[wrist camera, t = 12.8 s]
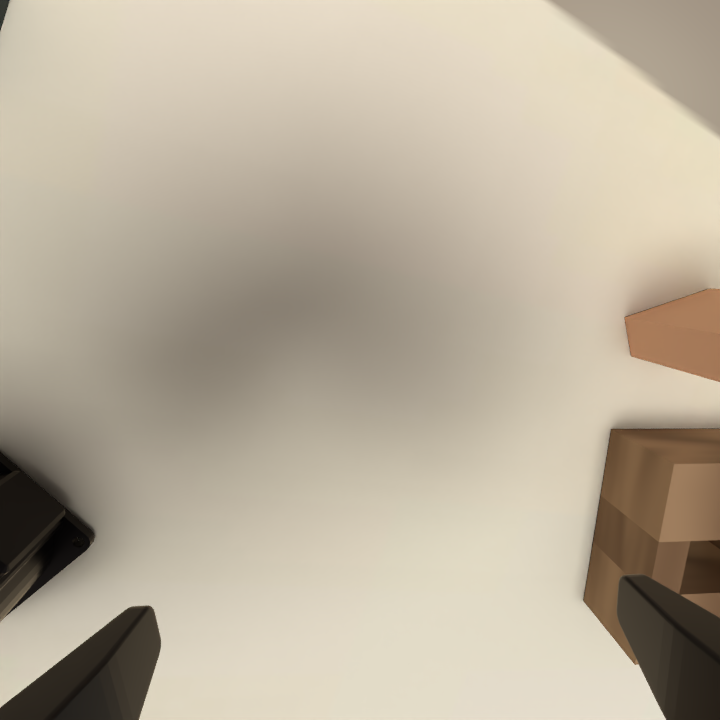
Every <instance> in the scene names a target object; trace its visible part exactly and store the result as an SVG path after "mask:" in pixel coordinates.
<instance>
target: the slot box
mask: <svg viewBox="0 0 720 720" xmlns="http://www.w3.org/2000/svg"><path fill="white" fill-rule="evenodd" d="M628 574H644V575H646V576H649V577H650V578H652V579H654V580H655V581H657V582H659V583H661V584H662V585H664V586H666V587H668V588H669V589H671V590H673V591H675V592H676V593H678V594H680V595H681V596H683V597H685V598H687V599H688V600H690V601H692V602H694V603H695V604H697V605H699V606H701V607H702V608H704V609H706V610H707V611H709V612H711V613H713V614H714V615H716V616H718V617H720V429H611V435H610V441H609V447H608V453H607V459H606V466H605V472H604V478H603V484H602V490H601V496H600V503H599V509H598V515H597V521H596V527H595V534H594V540H593V546H592V552H591V558H590V564H589V571H588V577H587V583H586V589H585V595H584V602H585V603H586V605H587V606H588V607H589V608H590V610H591V611H592V612H593V613H594V615H595V616H596V617H597V618H598V619H599V621H600V622H601V623H602V624H603V626H604V627H605V628H606V629H607V631H608V632H609V633H610V634H611V636H612V637H613V638H614V639H615V641H616V642H617V643H618V644H619V646H620V647H621V648H622V649H623V651H624V652H625V653H626V654H627V656H628V657H629V658H630V659H631V660H632V662H633V663H634V664H635V665H636V664H638V661H637V659H636V657H635V655H634V653H633V651H632V649H631V647H630V645H629V643H628V641H627V639H626V637H625V634H624V632H623V630H622V628H621V626H620V624H619V621H618V618H617V596H618V583H619V579H620V577H621V576H623V575H628Z"/></svg>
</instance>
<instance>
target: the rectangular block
mask: <svg viewBox="0 0 720 720" xmlns="http://www.w3.org/2000/svg"><path fill="white" fill-rule="evenodd" d="M625 323H626V329H627V335H628V340H629V346H630V352H631V356H632V357H636V358H639V359H643V360H646V361H649V362H653V363H656V364H660V365H663V366H667V367H670V368H674V369H677V370H680V371H684V372H687V373H691V374H694V375H698V376H701V377H704V378H708V379H711V380H715V381H718V382H720V289H707V290H704V291H701V292H698V293H695V294H692V295H689V296H686V297H683V298H680V299H677V300H674V301H671V302H668V303H665V304H663V305H660V306H657V307H654V308H651V309H648V310H645V311H642V312H639V313H636V314H633V315H630V316H627V317H625Z"/></svg>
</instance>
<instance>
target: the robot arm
mask: <svg viewBox="0 0 720 720" xmlns="http://www.w3.org/2000/svg"><path fill="white" fill-rule="evenodd" d="M77 537H80V538H82V539H83V540H84V542H81V541H79V540H78V539H77ZM93 541H94V534H93V532H92V531H91V530H90V529H89V528H88V527H86V526H85V525H84V524H83V523H82V522H81V521H79V520H78V519H77V518H76V517H75V516H74V515H72V514H71V513H70V512H69V511H68V510H67V509H66V508H64V507H63V506H62V505H61V504H60V503H59V502H57V501H56V500H55V499H54V498H53V497H52V496H50V495H49V494H48V493H47V492H46V491H45V490H43V489H42V488H41V487H40V486H39V485H38V484H37V483H35V482H34V481H33V480H32V479H31V478H30V477H28V476H27V475H26V474H25V473H24V472H23V471H21V470H20V469H19V468H18V467H17V466H16V465H15V464H13V463H12V462H11V461H10V460H9V459H8V458H6V457H5V456H4V455H3V454H2V453H1V452H0V622H1V621H2V620H3V618H4V617H5V616H7V615H8V614H9V613H10V612H12V611H13V610H14V609H15V608H16V607H18V606H19V605H20V604H21V603H22V602H24V601H25V600H26V599H27V598H29V597H30V596H31V595H32V594H33V593H35V592H36V591H37V590H38V589H39V588H41V587H42V586H43V585H44V584H46V583H47V582H48V581H49V580H50V579H52V578H53V577H54V576H55V575H57V574H58V573H59V572H60V571H61V570H63V569H64V568H65V567H66V566H67V565H69V564H70V563H71V562H72V561H74V560H75V559H76V558H77V557H78V556H80V555H81V554H82V553H83V552H85V551H86V550H87V549H88V548H89V546H90V545H91V544H92V542H93ZM617 618H618V621H619V624H620V626H621V628H622V630H623V632H624V634H625V637H626V639H627V641H628V643H629V645H630V647H631V649H632V651H633V653H634V655H635V657H636V659H637V661H638V664H639V666H640V668H641V670H642V672H643V674H644V676H645V678H646V680H647V682H648V684H649V686H650V688H651V690H652V693H653V695H654V697H655V699H656V701H657V703H658V705H659V707H660V709H661V711H662V712H663V714H664V716H665V718H666V720H720V617H718V616H716V615H714V614H713V613H711V612H709V611H707V610H706V609H704V608H702V607H701V606H699V605H697V604H695V603H694V602H692V601H690V600H688V599H687V598H685V597H683V596H681V595H680V594H678V593H676V592H675V591H673V590H671V589H669V588H668V587H666V586H664V585H662V584H661V583H659V582H657V581H655V580H654V579H652V578H650V577H649V576H646V575H644V574H628V575H623V576H621V577H620V579H619V583H618V596H617ZM160 649H161V638H160V633H159V629H158V625H157V620H156V616H155V612H154V609H153V608H152V607H151V606H133V607H130V608H128V609H126V610H125V611H124V612H122V613H121V614H120V615H118V616H117V617H116V618H115V619H113V620H112V621H111V622H109V623H108V624H107V625H106V626H104V627H103V628H102V629H100V630H99V631H98V632H97V633H95V634H94V635H93V636H92V637H90V638H89V639H88V640H86V641H85V642H84V643H83V644H81V645H80V646H79V647H77V648H76V649H75V650H74V651H72V652H71V653H70V654H68V655H67V656H66V657H65V658H63V659H62V660H61V661H59V662H58V663H57V664H56V665H54V666H53V667H52V668H51V669H49V670H48V671H47V672H45V673H44V674H43V675H42V676H40V677H39V678H38V679H36V680H35V681H34V682H33V683H31V684H30V685H29V686H27V687H26V688H25V689H24V690H22V691H21V692H20V693H18V694H17V695H16V696H15V697H13V698H12V699H11V700H9V701H8V702H7V703H6V704H4V705H3V706H2V707H1V708H0V720H139V717H140V714H141V711H142V708H143V705H144V701H145V698H146V695H147V692H148V689H149V686H150V682H151V679H152V676H153V673H154V670H155V666H156V663H157V660H158V657H159V653H160Z"/></svg>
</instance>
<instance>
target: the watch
mask: <svg viewBox="0 0 720 720" xmlns="http://www.w3.org/2000/svg"><path fill="white" fill-rule="evenodd" d="M8 3H9V0H0V29H1V26H2V23H3V20H4V16H5V13H6V10H7V7H8Z"/></svg>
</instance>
